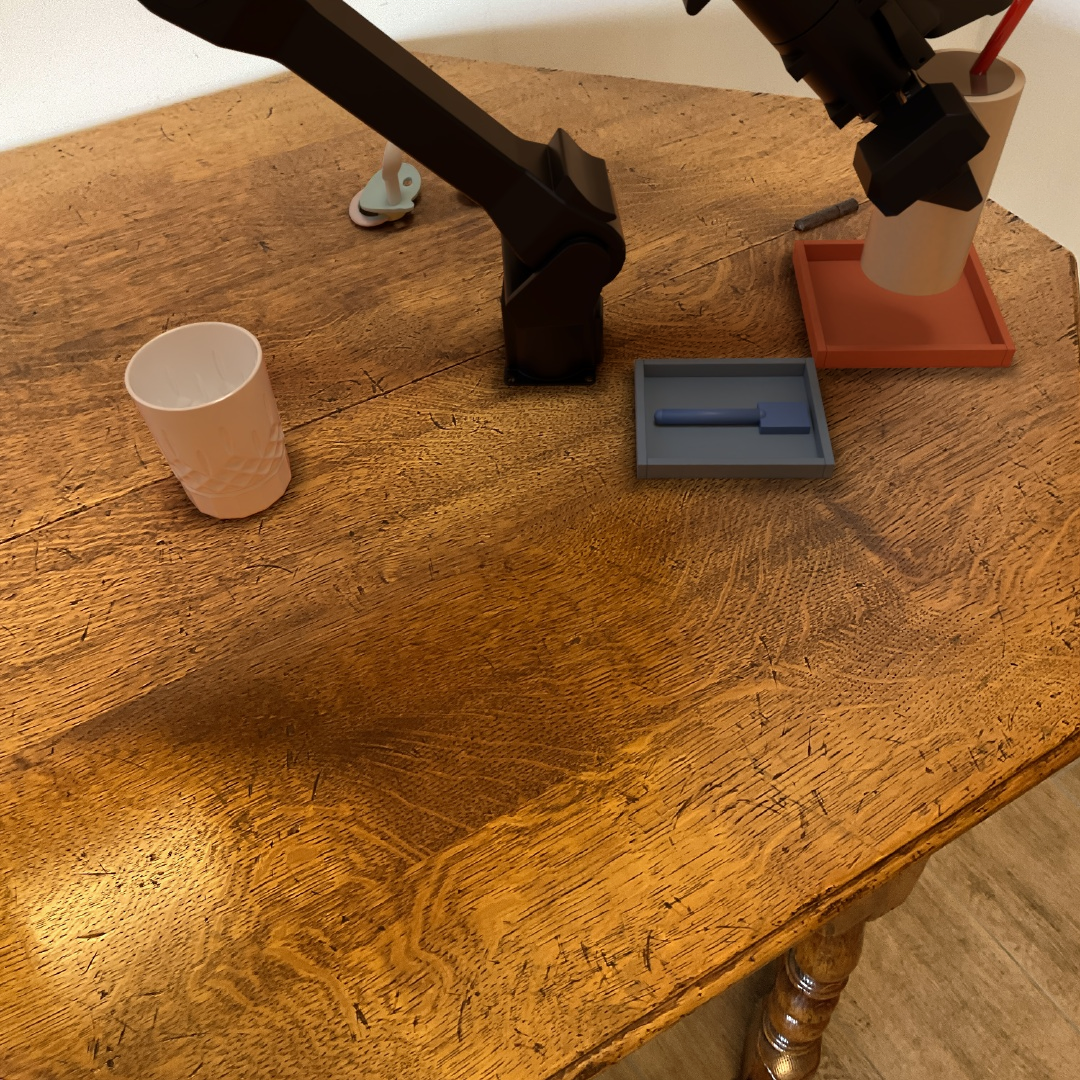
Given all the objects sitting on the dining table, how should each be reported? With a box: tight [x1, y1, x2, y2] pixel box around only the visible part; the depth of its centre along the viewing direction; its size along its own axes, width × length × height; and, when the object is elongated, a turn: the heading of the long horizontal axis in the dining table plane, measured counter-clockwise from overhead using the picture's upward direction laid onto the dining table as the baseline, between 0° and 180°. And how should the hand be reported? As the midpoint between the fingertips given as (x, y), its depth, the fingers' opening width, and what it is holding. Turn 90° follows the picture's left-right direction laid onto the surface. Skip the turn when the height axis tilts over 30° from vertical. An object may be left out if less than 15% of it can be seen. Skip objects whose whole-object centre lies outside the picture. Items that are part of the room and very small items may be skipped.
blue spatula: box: [654, 402, 811, 434], centre depth 66 cm, size 10×2×1 cm, turn 87°
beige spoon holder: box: [860, 0, 1035, 296], centre depth 59 cm, size 8×7×20 cm
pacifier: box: [348, 140, 422, 227], centre depth 83 cm, size 7×6×6 cm
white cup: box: [124, 321, 292, 520], centre depth 62 cm, size 8×8×10 cm
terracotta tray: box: [791, 238, 1017, 369], centre depth 73 cm, size 13×13×2 cm
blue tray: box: [633, 357, 836, 479], centre depth 66 cm, size 12×10×2 cm
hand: (958, 174), depth 62 cm, fingers closed on beige spoon holder, 6 cm apart
